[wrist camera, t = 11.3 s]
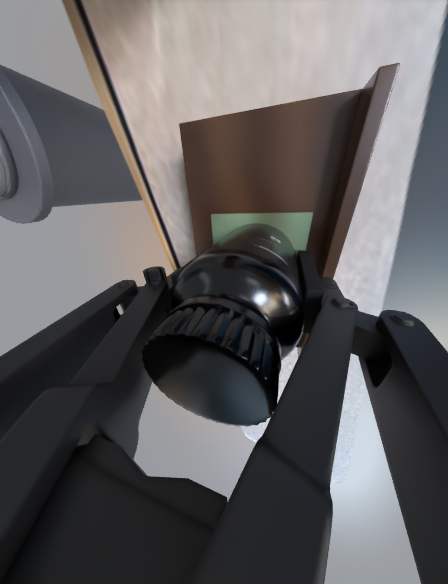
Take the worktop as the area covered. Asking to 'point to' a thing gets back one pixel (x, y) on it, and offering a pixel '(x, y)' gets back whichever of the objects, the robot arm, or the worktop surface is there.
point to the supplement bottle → (230, 328)
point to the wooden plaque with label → (286, 169)
